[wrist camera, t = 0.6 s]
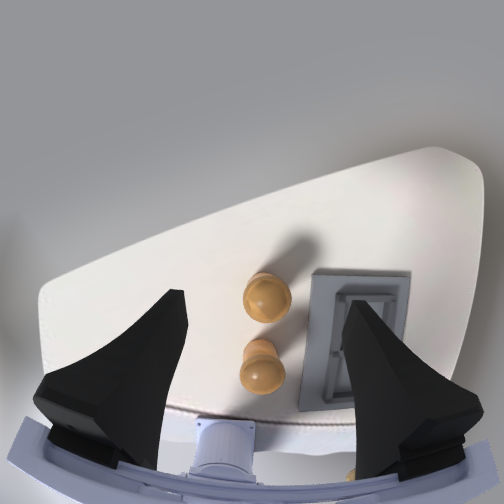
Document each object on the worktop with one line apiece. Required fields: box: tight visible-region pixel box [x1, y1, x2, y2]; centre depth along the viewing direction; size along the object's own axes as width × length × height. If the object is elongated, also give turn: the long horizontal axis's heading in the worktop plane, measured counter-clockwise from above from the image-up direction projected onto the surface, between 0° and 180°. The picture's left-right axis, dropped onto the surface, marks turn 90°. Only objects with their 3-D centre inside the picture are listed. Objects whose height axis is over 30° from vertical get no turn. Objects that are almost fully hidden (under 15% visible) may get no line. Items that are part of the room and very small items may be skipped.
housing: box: [298, 274, 410, 412], centre depth 32 cm, size 18×13×2 cm
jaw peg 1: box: [243, 272, 292, 323], centre depth 30 cm, size 5×5×6 cm
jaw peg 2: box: [240, 339, 285, 395], centre depth 30 cm, size 5×5×6 cm
